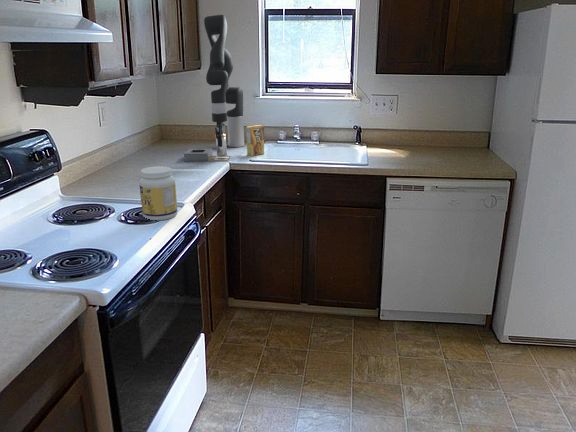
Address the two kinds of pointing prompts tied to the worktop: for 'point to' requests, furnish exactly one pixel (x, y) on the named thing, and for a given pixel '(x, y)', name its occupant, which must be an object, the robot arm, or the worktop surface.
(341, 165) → the worktop surface
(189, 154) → the housing
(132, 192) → the worktop surface
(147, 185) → the supplement tub
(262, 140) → the candy box
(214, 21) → the robot arm
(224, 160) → the board
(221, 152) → the clear glass
